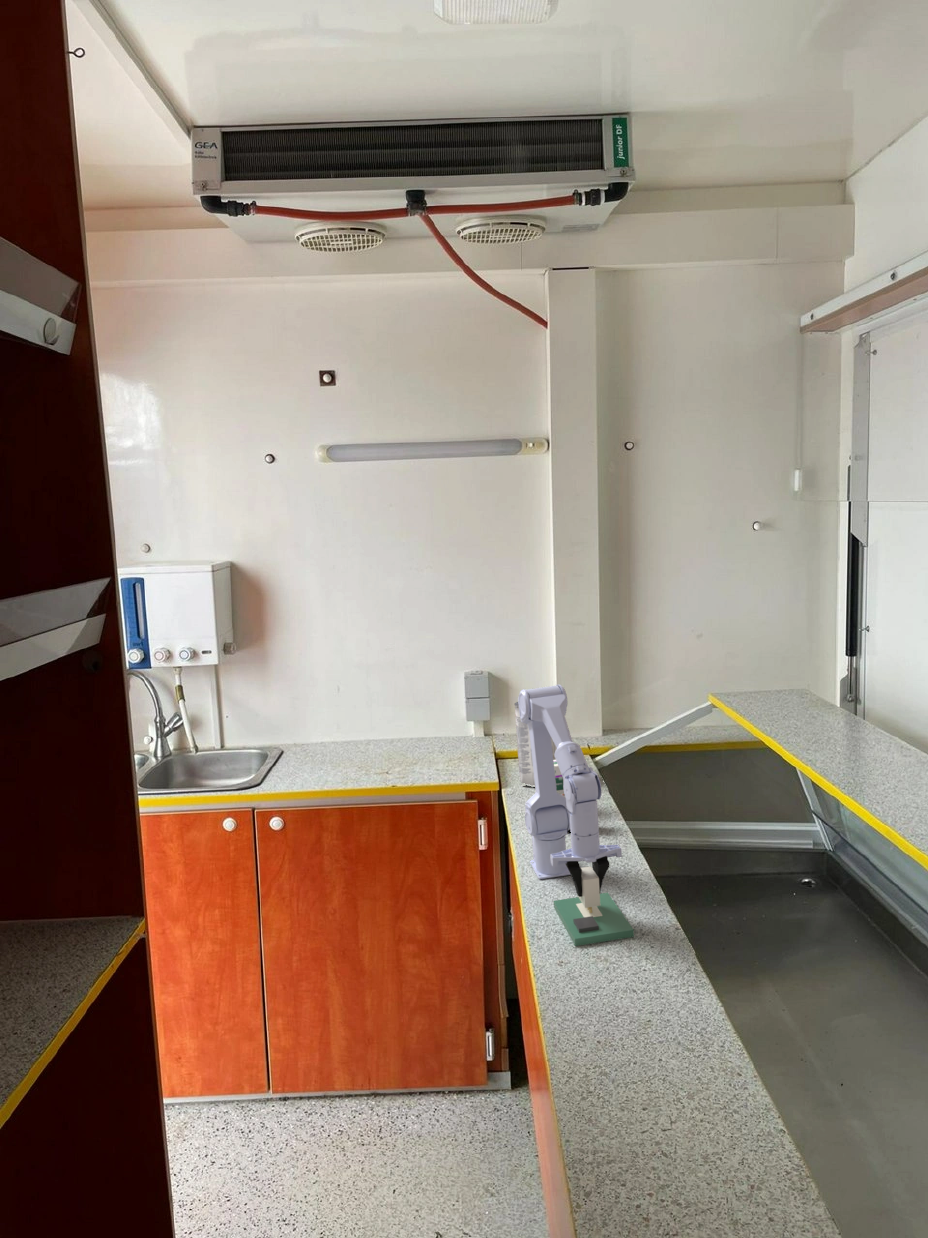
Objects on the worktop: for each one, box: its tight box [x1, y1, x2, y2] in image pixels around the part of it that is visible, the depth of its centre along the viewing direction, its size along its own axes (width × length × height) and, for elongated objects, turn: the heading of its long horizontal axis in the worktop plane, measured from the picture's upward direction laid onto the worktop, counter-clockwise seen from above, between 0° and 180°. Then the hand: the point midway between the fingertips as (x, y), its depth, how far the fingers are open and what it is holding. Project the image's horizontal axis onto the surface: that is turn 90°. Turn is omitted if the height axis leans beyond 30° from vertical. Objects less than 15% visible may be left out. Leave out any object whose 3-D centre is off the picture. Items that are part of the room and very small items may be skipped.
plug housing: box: [576, 865, 601, 908], centre depth 181 cm, size 7×3×6 cm, turn 9°
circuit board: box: [553, 892, 635, 947], centre depth 180 cm, size 16×12×3 cm
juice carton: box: [514, 701, 557, 785], centre depth 257 cm, size 9×10×27 cm
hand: (588, 893), depth 181 cm, fingers closed on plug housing, 3 cm apart
